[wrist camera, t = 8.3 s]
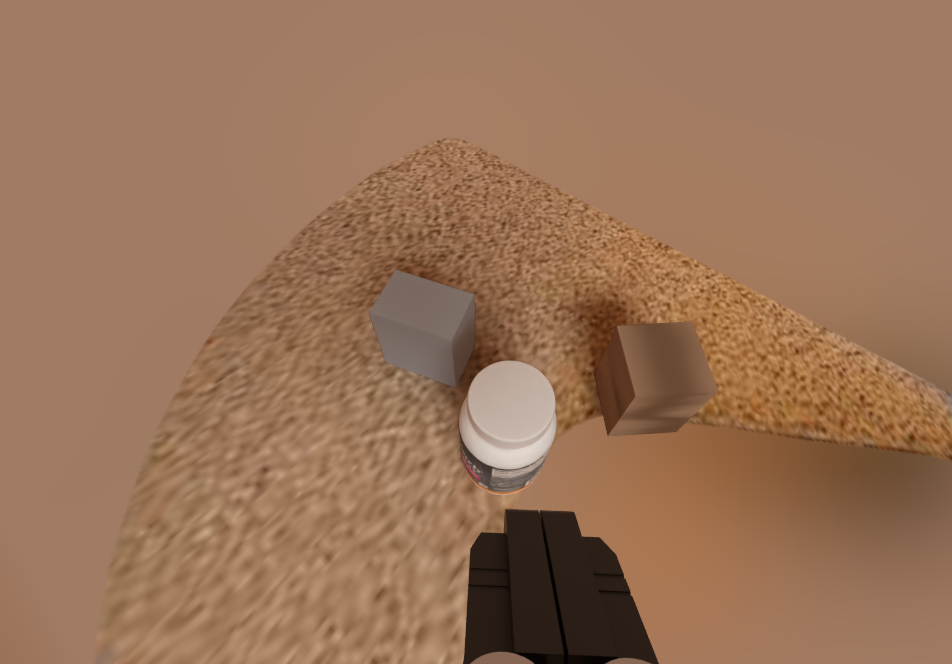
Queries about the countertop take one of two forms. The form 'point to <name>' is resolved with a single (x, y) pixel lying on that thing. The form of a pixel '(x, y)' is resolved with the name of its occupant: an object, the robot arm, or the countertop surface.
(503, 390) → the pill bottle
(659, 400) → the walnut block
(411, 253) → the countertop surface
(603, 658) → the robot arm
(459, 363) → the slate block
